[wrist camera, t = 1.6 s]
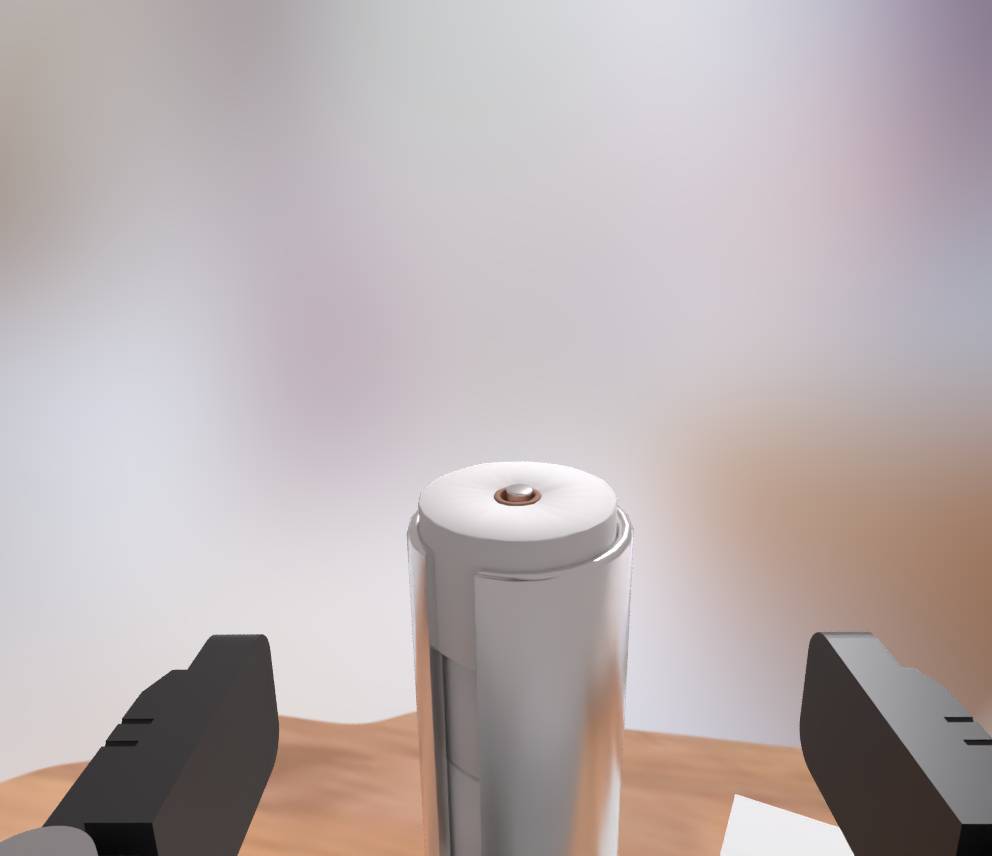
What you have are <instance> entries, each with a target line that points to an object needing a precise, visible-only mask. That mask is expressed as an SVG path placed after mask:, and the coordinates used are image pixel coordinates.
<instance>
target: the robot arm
mask: <svg viewBox="0 0 992 856" xmlns="http://www.w3.org/2000/svg"><path fill="white" fill-rule="evenodd" d="M800 740H801V746H802V751H803V755H804V758H805V762H806V764H807V767H808V769H809V771H810V773H811V775H812V777H813V779H814V780H815V782H816V784H817V786H818V788H819V790H820V792H821V794H822V795H823V797H824V799H825V801H826V803H827V805H828V807H829V809H830V811H831V812H832V814H833V816H834V818H835V820H836V822H837V824H838V826H839V827H840V829H841V831H842V833H843V835H844V837H845V839H846V841H847V843H848V844H849V846H850V848H851V850H852V852H853V854H854V856H992V738H991V737H990V736H989V735H988V733H987V732H986V731H985V730H984V729H983V728H982V727H981V726H980V724H979V723H978V722H973V717H972V716H971V714H970V713H969V712H968V711H967V710H966V709H965V708H964V707H963V706H962V704H961V703H960V702H959V701H958V700H957V699H956V698H955V697H954V696H953V694H952V693H951V692H950V691H949V690H948V689H946V688H944V687H943V686H941V685H940V684H938V683H937V682H935V681H934V680H932V679H931V678H929V677H927V676H926V675H924V674H923V673H921V672H920V671H918V670H917V669H915V668H913V667H901V666H900V665H899V664H898V662H897V661H896V660H895V659H894V658H893V657H892V656H891V654H890V653H889V652H888V651H887V650H886V648H885V647H884V646H883V645H882V644H881V642H880V641H879V640H878V639H877V638H876V637H875V636H874V635H873V634H872V633H869V632H818V633H815V634H814V635H813V636H812V638H811V640H810V644H809V649H808V658H807V666H806V674H805V683H804V691H803V699H802V707H801V716H800ZM278 741H279V720H278V712H277V703H276V695H275V686H274V678H273V670H272V661H271V653H270V646H269V642H268V639H267V637H266V636H264V635H262V634H261V635H258V634H257V635H212V636H211V637H210V638H209V639H208V640H207V642H206V643H205V645H204V646H203V647H202V649H201V651H200V652H199V653H198V655H197V656H196V658H195V659H194V661H193V662H192V664H191V665H190V667H189V668H188V670H172V671H170V672H169V673H168V674H166V675H165V676H163V677H162V678H161V679H159V680H158V681H157V682H155V683H154V684H153V685H151V686H150V687H148V688H147V689H146V690H144V691H143V692H142V693H141V694H140V695H139V697H138V698H137V699H136V701H135V702H134V703H133V705H132V706H131V708H130V709H129V710H128V711H127V713H126V714H125V716H124V717H123V718H122V724H118V725H117V726H116V728H115V729H114V730H113V732H112V733H111V734H110V736H109V737H108V739H107V740H106V745H105V747H101V748H100V749H99V751H98V752H97V753H96V755H95V756H94V758H93V759H92V760H91V762H90V763H89V764H88V766H87V767H86V768H85V770H84V771H83V772H82V774H81V775H80V776H79V778H78V779H77V780H76V782H75V783H74V785H73V786H72V787H71V789H70V790H69V791H68V793H67V794H66V795H65V797H64V798H63V799H62V801H61V802H60V803H59V805H58V806H57V807H56V809H55V810H54V812H53V813H52V814H51V816H50V817H49V818H48V820H47V821H46V822H45V824H44V825H43V826H42V828H37V829H33V830H30V831H26V832H23V833H21V834H18V835H15V836H13V837H11V838H8V839H6V840H4V841H2V842H0V856H237V855H238V853H239V850H240V848H241V845H242V843H243V840H244V838H245V836H246V833H247V831H248V828H249V826H250V823H251V821H252V818H253V816H254V814H255V811H256V809H257V806H258V804H259V801H260V799H261V797H262V794H263V792H264V789H265V787H266V784H267V782H268V779H269V777H270V775H271V772H272V770H273V767H274V763H275V760H276V755H277V749H278Z"/></svg>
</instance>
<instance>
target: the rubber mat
mask: <svg viewBox="0 0 992 856" xmlns="http://www.w3.org/2000/svg"><path fill="white" fill-rule="evenodd" d="M720 856H854V854H853V852H852V850H851V848H850V846H849V844H848V843H847V841H846V839H845V837H844V835H843V833H842V831H841V829H840V828H839V827H836V826H833V825H830V824H827V823H824V822H821V821H817V820H814V819H811V818H808V817H805V816H802V815H799V814H796V813H793V812H789V811H786V810H783V809H780V808H777V807H774V806H771V805H768V804H764V803H761V802H758V801H755V800H752V799H749V798H746V797H743V796H740V795H736V794H735V798H734V802H733V806H732V810H731V814H730V818H729V822H728V826H727V830H726V834H725V838H724V842H723V846H722V850H721V854H720Z"/></svg>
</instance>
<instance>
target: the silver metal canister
mask: <svg viewBox="0 0 992 856" xmlns="http://www.w3.org/2000/svg"><path fill="white" fill-rule="evenodd" d="M633 533H634V531H633V527H632V524H631V522H630V519H629V517H628V515H627V514H626V513H625V512H624V511H623V510H622V509H621V508H620V507H619V506H618V505H617V498H616V496H615V493H614V491H613V490H612V488H610V486H609V485H607V483H605V482H604V481H603V480H602V479H600V478H598V477H595V476H593V475H591V474H589V473H587V472H584V471H581V470H577V469H574V468H571V467H568V466H562V465H555V464H549V463H538V462H526V461H525V462H496V463H483V464H477V465H474V466H470V467H467V468H463V469H460V470H457V471H454V472H451V473H448V474H445V475H442V476H441V477H439V478H437V479H436V480H434V481H433V482H431V483H429V484H428V486H427V487H426V488H425V489H424V490H423V491H422V492H421V494H420V498H419V503H418V510H417V511H416V513H415V514H414V515H413V516H412V517H411V519H410V523H409V527H408V531H407V545H408V562H409V578H410V597H411V615H412V632H413V649H414V667H415V685H416V702H417V720H418V737H419V755H420V772H421V790H422V807H423V825H424V842H425V856H618V846H619V825H620V804H621V783H622V762H623V742H624V721H625V700H626V679H627V658H628V657H627V656H628V636H629V616H630V595H631V575H632V553H633Z"/></svg>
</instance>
